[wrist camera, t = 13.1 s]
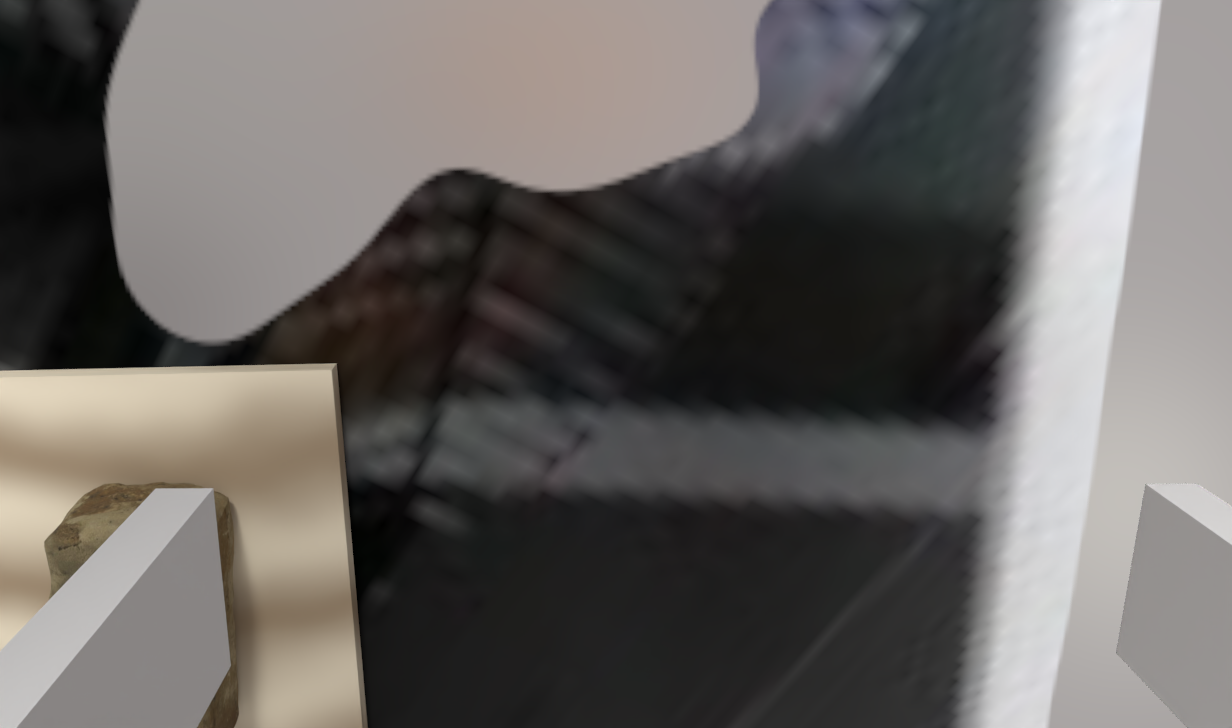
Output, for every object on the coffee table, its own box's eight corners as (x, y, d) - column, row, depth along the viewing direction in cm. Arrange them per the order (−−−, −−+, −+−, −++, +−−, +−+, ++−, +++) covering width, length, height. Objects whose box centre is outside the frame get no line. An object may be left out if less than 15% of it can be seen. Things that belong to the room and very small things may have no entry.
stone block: (113, 718, 44) (59, 795, 40) (90, 471, 41) (28, 521, 37) (249, 719, 45) (212, 795, 40) (235, 474, 42) (193, 524, 37)
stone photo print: (-42, 371, 41) (-56, 378, 40) (336, 363, 42) (331, 370, 41) (38, 794, 46) (27, 809, 45) (372, 780, 47) (368, 795, 46)
